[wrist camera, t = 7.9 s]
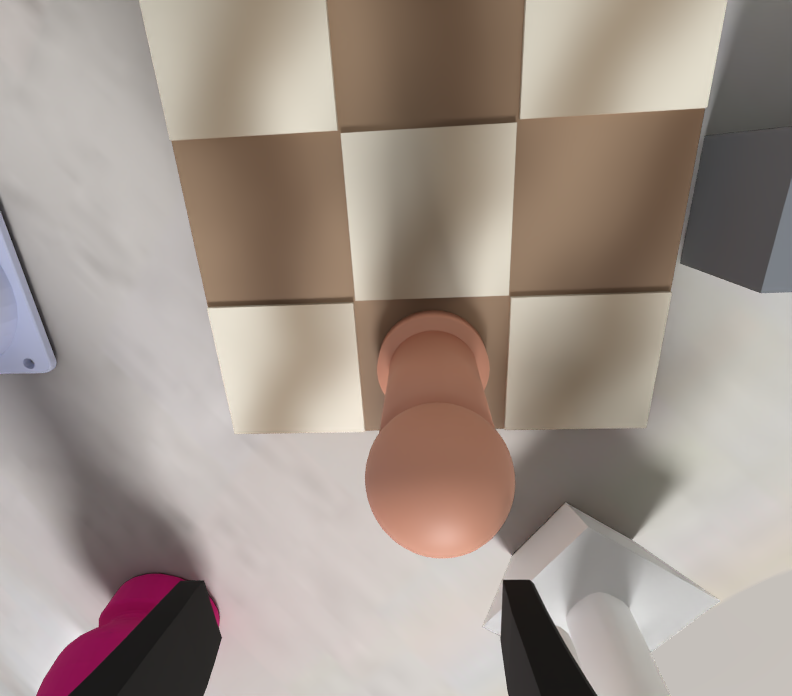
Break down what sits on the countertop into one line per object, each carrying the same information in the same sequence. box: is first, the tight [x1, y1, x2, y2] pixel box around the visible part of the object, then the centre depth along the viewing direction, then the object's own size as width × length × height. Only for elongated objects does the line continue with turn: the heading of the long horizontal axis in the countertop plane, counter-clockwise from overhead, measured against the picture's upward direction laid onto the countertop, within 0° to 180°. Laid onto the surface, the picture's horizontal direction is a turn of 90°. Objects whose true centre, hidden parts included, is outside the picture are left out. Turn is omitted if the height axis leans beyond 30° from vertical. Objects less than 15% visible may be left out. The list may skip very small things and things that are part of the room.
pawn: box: [365, 310, 515, 558], centre depth 14 cm, size 4×4×9 cm
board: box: [139, 0, 728, 434], centre depth 16 cm, size 18×18×1 cm
